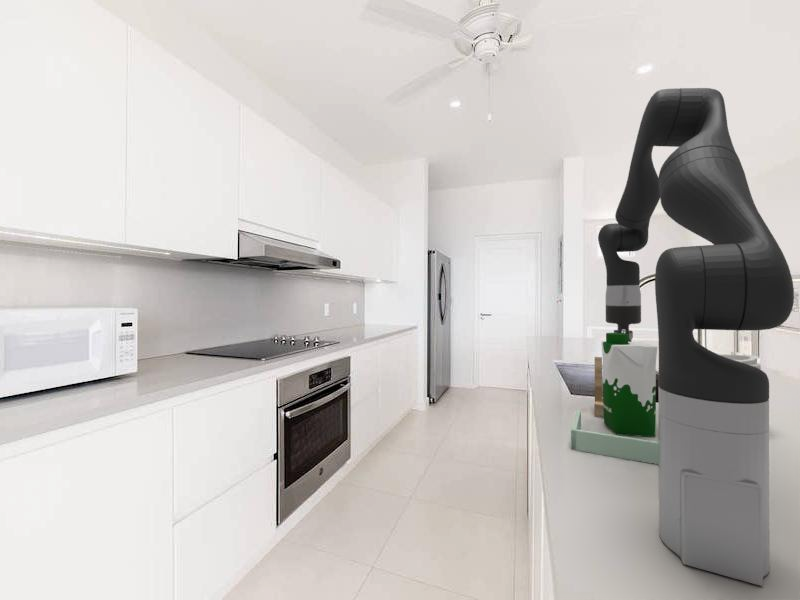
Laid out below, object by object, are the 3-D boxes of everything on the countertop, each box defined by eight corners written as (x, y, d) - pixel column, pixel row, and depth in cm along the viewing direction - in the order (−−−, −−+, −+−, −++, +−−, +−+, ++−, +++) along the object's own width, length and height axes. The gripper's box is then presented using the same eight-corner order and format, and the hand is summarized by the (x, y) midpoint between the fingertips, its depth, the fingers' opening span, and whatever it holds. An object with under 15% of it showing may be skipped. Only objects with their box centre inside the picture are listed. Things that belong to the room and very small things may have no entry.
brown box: (646, 423, 80) (646, 364, 80) (594, 416, 85) (594, 360, 85) (643, 414, 86) (643, 359, 86) (595, 408, 91) (595, 356, 91)
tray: (706, 473, 57) (706, 450, 57) (571, 449, 67) (571, 430, 67) (689, 442, 69) (689, 424, 69) (576, 425, 79) (576, 409, 79)
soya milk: (598, 421, 81) (597, 331, 81) (643, 424, 80) (643, 331, 80) (612, 436, 73) (612, 335, 73) (663, 439, 71) (663, 336, 71)
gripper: (643, 304, 83) (643, 380, 83) (639, 303, 95) (639, 370, 95) (605, 304, 87) (605, 377, 87) (605, 303, 98) (606, 367, 99)
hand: (623, 373), depth 91 cm, fingers closed
